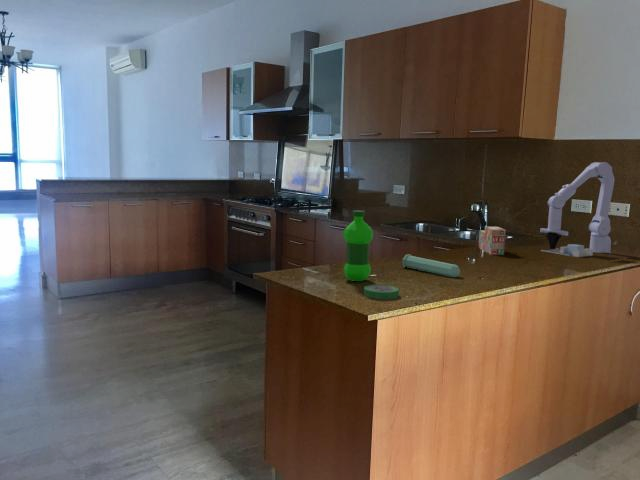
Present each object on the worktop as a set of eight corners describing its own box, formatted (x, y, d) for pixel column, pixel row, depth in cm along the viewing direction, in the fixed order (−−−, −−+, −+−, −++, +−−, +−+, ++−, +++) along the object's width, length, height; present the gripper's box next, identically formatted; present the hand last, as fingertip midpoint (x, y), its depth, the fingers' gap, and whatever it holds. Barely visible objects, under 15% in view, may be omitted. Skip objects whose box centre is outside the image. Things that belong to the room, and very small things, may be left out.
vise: (556, 251, 273) (557, 243, 272) (593, 257, 255) (594, 249, 255) (540, 252, 267) (540, 244, 266) (576, 259, 250) (577, 250, 249)
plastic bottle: (363, 284, 190) (365, 212, 187) (337, 281, 196) (338, 211, 192) (376, 279, 199) (378, 210, 195) (350, 276, 204) (352, 209, 201)
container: (461, 261, 206) (410, 251, 225) (451, 268, 202) (400, 258, 221) (463, 275, 208) (413, 264, 227) (454, 282, 205) (403, 270, 224)
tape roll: (400, 293, 180) (400, 285, 179) (396, 301, 169) (396, 293, 169) (366, 291, 183) (367, 283, 182) (360, 298, 172) (361, 290, 172)
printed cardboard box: (478, 248, 280) (479, 224, 278) (490, 248, 280) (491, 224, 278) (491, 255, 259) (492, 229, 257) (504, 255, 259) (505, 229, 257)
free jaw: (571, 251, 264) (571, 245, 264) (577, 252, 262) (577, 246, 261) (557, 252, 260) (557, 246, 259) (563, 253, 257) (563, 247, 256)
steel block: (573, 253, 261) (574, 244, 260) (583, 255, 256) (584, 245, 256) (566, 254, 258) (567, 244, 257) (576, 255, 254) (577, 246, 253)
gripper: (536, 219, 270) (534, 246, 272) (562, 222, 258) (560, 251, 259) (546, 219, 274) (544, 246, 275) (572, 222, 261) (569, 250, 263)
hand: (552, 248), depth 268 cm, fingers closed
